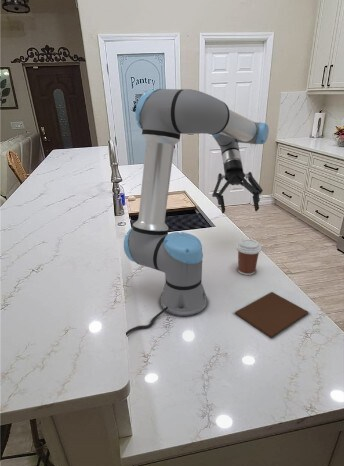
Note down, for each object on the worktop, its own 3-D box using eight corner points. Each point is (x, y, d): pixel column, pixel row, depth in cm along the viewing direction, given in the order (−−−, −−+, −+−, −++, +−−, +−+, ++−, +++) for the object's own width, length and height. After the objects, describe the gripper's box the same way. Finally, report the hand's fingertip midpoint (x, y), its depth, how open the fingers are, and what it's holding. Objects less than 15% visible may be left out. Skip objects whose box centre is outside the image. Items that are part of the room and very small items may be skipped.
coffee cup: (263, 274, 125) (267, 245, 119) (242, 278, 122) (244, 250, 116) (250, 263, 132) (253, 236, 127) (230, 267, 130) (232, 239, 124)
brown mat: (271, 338, 94) (271, 336, 93) (235, 313, 104) (235, 311, 103) (307, 313, 103) (308, 311, 103) (271, 293, 113) (272, 291, 113)
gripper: (258, 167, 140) (267, 212, 134) (201, 170, 138) (207, 216, 132) (264, 157, 133) (274, 204, 127) (204, 160, 130) (211, 208, 124)
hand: (240, 210), depth 129 cm, fingers open, 13 cm apart
